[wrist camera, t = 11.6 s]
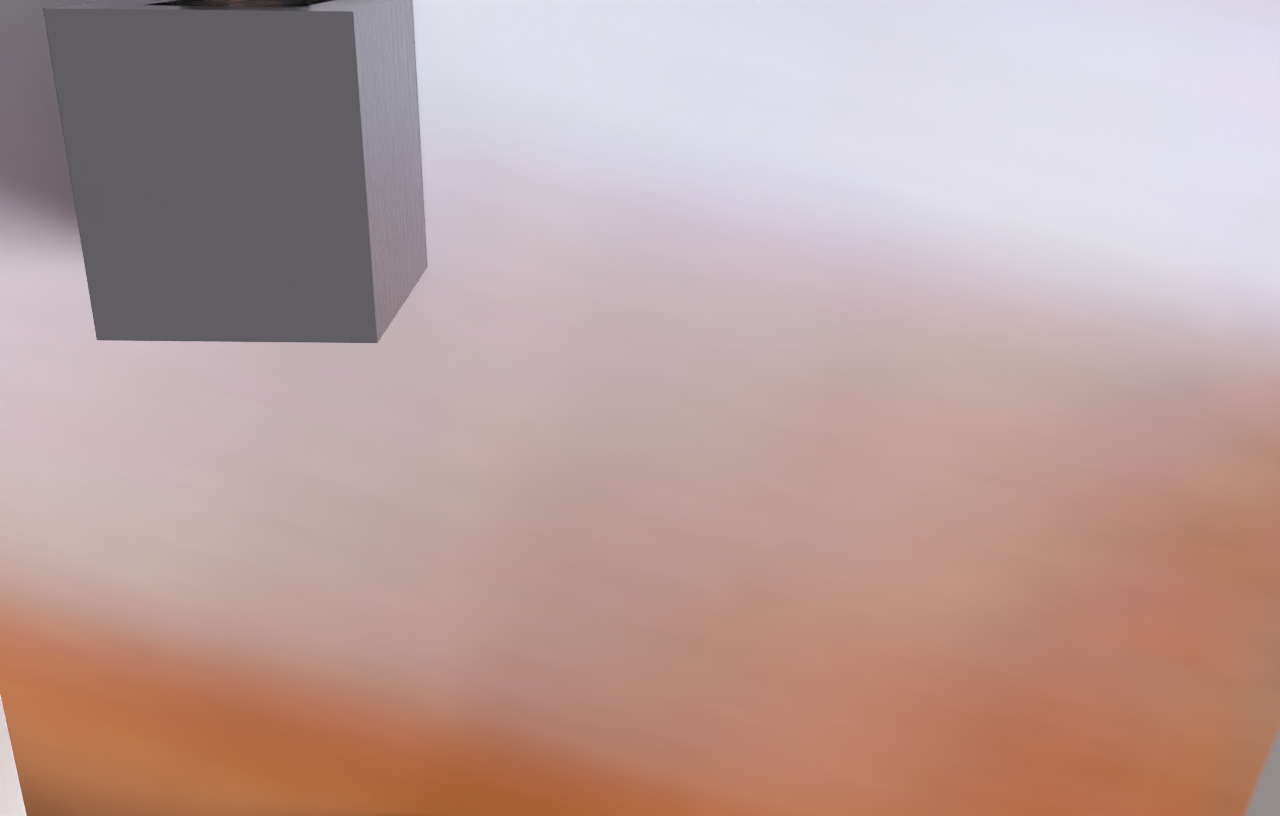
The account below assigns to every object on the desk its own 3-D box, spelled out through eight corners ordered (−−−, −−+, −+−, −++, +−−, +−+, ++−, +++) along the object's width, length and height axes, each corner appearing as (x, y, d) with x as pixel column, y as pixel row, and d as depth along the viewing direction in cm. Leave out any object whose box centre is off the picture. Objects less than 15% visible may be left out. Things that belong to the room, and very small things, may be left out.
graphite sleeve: (427, 267, 42) (377, 342, 34) (199, 264, 42) (97, 339, 34) (412, -4, 39) (353, 11, 31) (164, -7, 39) (43, 8, 31)
